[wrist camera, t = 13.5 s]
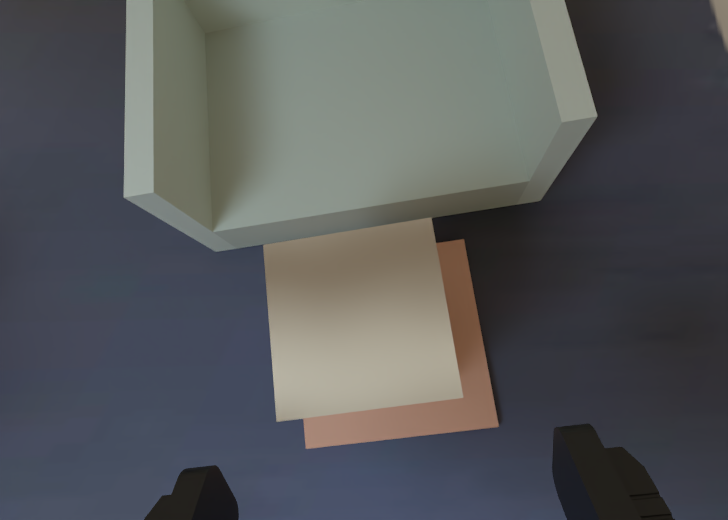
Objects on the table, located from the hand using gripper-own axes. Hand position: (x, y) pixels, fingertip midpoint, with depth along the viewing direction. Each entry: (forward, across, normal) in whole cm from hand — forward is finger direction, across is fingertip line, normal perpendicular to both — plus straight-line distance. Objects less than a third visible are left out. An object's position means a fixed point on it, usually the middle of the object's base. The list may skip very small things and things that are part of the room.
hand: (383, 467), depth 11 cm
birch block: (+10, 0, +5) cm, 12 cm away
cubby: (+19, 0, -4) cm, 20 cm away
